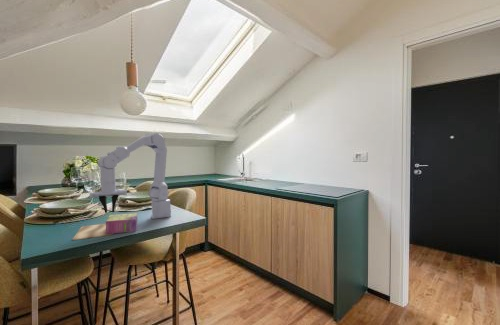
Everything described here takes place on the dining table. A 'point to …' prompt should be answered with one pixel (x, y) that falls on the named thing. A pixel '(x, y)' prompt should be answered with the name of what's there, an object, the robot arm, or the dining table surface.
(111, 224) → the box
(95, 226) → the wooden board
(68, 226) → the dining table surface
